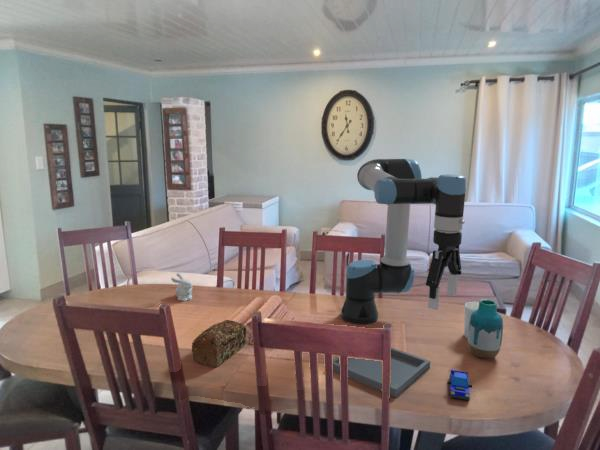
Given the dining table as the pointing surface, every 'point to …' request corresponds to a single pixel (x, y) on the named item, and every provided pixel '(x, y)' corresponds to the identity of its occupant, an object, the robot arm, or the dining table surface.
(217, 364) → the bread
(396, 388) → the tray
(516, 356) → the dining table surface
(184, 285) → the rabbit
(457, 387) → the toy car
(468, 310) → the candle holder
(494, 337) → the vase
